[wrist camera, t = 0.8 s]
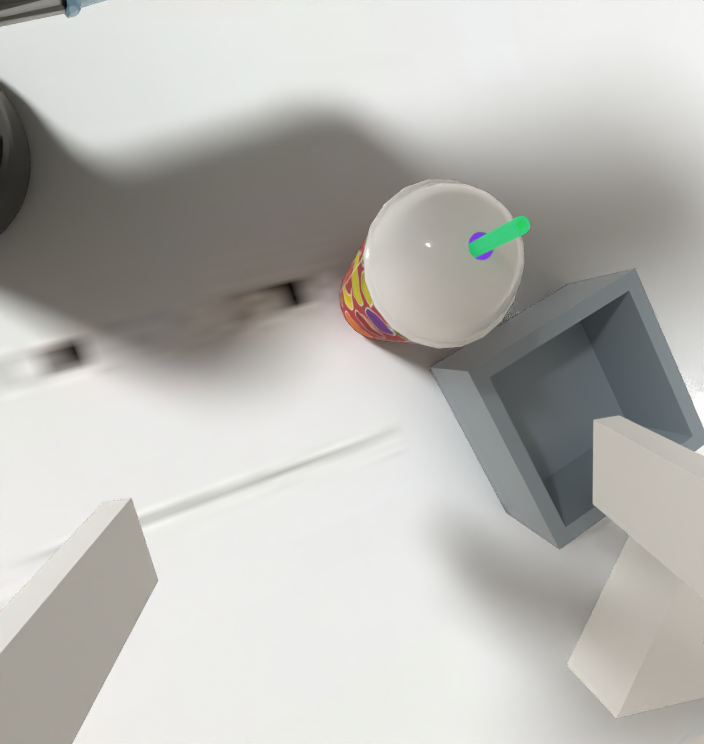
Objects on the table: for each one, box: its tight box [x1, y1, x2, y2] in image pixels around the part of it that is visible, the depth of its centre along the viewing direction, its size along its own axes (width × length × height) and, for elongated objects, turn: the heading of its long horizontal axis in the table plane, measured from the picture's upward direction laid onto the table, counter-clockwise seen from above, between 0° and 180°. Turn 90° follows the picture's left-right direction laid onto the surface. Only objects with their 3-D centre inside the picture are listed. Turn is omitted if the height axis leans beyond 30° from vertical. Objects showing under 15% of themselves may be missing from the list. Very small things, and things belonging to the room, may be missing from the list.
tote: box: [430, 269, 704, 549], centre depth 33 cm, size 15×15×7 cm
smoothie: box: [339, 179, 530, 349], centre depth 24 cm, size 8×8×20 cm
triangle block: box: [567, 392, 704, 719], centre depth 38 cm, size 30×26×6 cm
